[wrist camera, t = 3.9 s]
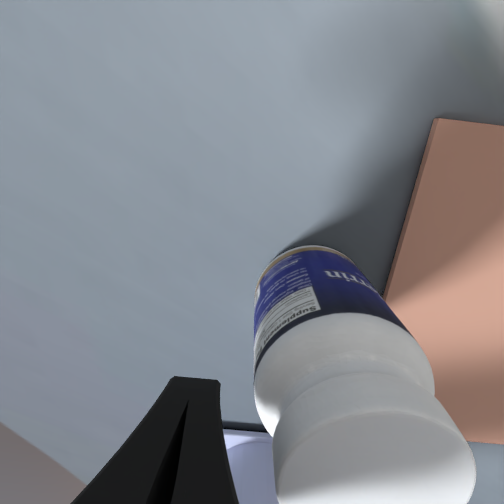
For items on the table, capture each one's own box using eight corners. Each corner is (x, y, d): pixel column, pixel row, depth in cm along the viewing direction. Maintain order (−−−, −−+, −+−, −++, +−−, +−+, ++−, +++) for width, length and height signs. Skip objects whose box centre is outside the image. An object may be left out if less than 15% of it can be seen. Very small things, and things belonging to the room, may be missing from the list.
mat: (499, 438, 20) (503, 444, 20) (346, 424, 20) (347, 430, 19) (653, 144, 14) (664, 145, 13) (433, 118, 14) (439, 118, 13)
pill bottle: (384, 289, 16) (554, 490, 7) (306, 355, 18) (362, 591, 9) (309, 218, 15) (395, 348, 6) (232, 294, 17) (202, 495, 7)
